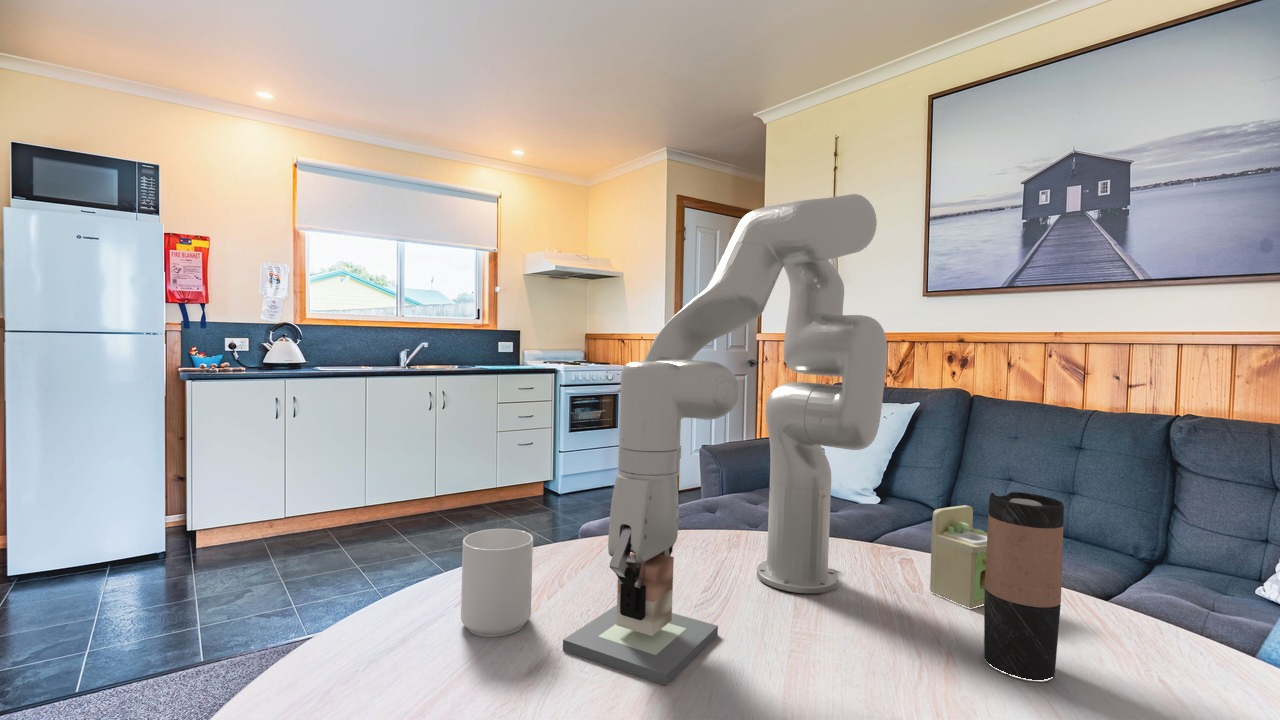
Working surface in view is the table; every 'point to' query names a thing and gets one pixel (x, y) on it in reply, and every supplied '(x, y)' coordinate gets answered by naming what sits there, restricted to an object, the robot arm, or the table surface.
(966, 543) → the toy sink
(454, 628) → the table surface
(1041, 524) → the travel mug
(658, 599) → the brick stack
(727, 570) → the table surface
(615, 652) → the base board
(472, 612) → the mug
